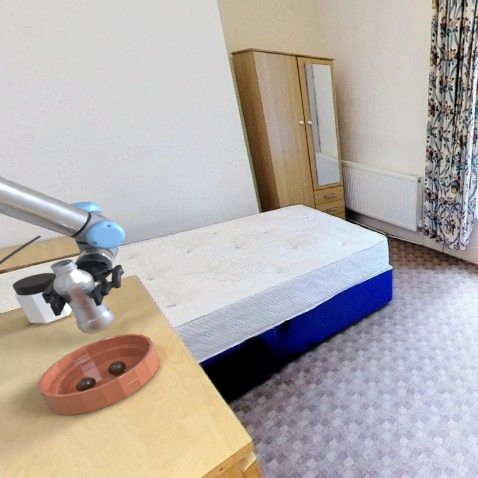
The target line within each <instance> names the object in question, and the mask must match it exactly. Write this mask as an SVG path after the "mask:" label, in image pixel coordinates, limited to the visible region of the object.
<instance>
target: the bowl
mask: <svg viewBox="0 0 478 478" xmlns="http://www.w3.org/2000/svg"><path fill="white" fill-rule="evenodd" d="M116 361H122V362H124V363H125V364H126V368H125V370H124V371H123V372H122V373H121V374H118V375H111V374H110V373H109V372H108V367H109V366H110V365H111V364H112V363H114V362H116ZM159 365H160V357H159V355H158V352H157V350H156V346H155V345H154V342H153V341H152V339H151V337H149V336H147V335H144V334H141V333H127V334H126V333H125V334H119V335H113V336H109V337H105V338H101V339H99V340H96V341H93V342H90V343H88V344H85V345H83V346H81V347H79V348H77V349H75V350H73V351H71V352H70V353H68V354H66V355H65V356H63V357H61V358H60V359H59V360H57V361H55V362H54V363H53V364H52V365H51V366H50V367H48V369H46V370H45V372H44V373H43V374H42V375H41V376H40V379H39V381H38V383H37V386H38V391H39V393H40V395H41V396H42V398H43V400H44V401H45V403H46V404H47V406H48V408H49V410H51V411H53V413H56V414H57V415H64V416H76V415H82V414H88V413H92V412H95V411H98V410H100V409H103V408H106V407H109V406H111V405H113V404H115V403H117V402H119V401H121V400H123V399H125V398H127V397H128V396H130V395H132V394H133V393H135V392H136V391H137V390H139V389H141V388H142V387H143V386H145V384H146V383H147V382H148V381H150V379H152V377H154V375H155V373H156V371H158V368H159ZM86 377H92V378H94V379H95V380H96V385H95V387H94V388H92V389H89V390H85V391H82V392H79V391H78V390H77V389H76V385H77V383H78V382H79V381H80V380H81V379H83V378H86Z"/></svg>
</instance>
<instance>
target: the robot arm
mask: <svg viewBox="0 0 478 478" xmlns="http://www.w3.org/2000/svg"><path fill="white" fill-rule="evenodd" d="M0 214H1V215H4V216H6V217H9V218H13V219H15V220H18V221H21V222H24V223H26V224H27V223H28V224H31V225H33V226H37V227H39V228H43V229H46V230H48V231H52V232H55V233H58V234H61V235H64V236H67V237H70V238H72V239H74V240H75V243H76V245H77V247H78V250H79V252H80V253H79V255H78V257H77V258H76V260H75V261H74V263H75V264H76V265H77V269H80V270H83V271H85V272H88V273H89V274H90V275H92V277H93V280H94V283H97V284H96V285H95V287H96V288H95V291H94V294H93V296H92V297H93V299H94V302H95V304H96V306H100V305H101V304H102V301H103V302H104V297H105V296H109V294H110V292H111V291H112V289H120V288H121V287H122V276H123V275H124V274H125V270H124V269H123V266H122V264H117V265H115V266H114V262H115V259H116V257H117V255H118V253H119V246H120V245H122V244H123V242H124V240H125V239H126V233H125V230H124V229H123V228H122V227H121V226H120V224H118V223H117V222H114V221H112V220H110V219H108V218H107V217H106V216H104V215H103V213H102V210H101V208H100V207H99V204H98V203H97V202H94V201H79V202H73V203H67V202H65V201H62V200H60V199H57V198H55V197H52V196H50V195H48V194H45V193H42V192H40V191H38V190H35V189H32V188H30V187H28V186H25V185H22V184H21V183H18V182H15V181H13V180H11V179H8V178H5V177H3V176H1V175H0ZM40 238H42V236H41V235H38V236H36V237H33V238H32V239H31V240H29V241H28V242H26V243H25V244H23V245H21V246H20V247H18V248H16V249H15V250H14V251H12V252H11V253H9V254H7V255H6V256H4V257H3V259H1V260H0V265H2V264H3V263H4V262H6V261H7V260H9V259H10V258H11V257H13V256H14V255H16V254H17V253H18V252H20V251H22V250H23V249H25V248H26V247H28V246H29V245H31V244H33V243H34V242H36V241H37V240H39V239H40ZM113 266H114V267H113ZM110 275H111V281H109V280H108V279H107V278H109V276H110ZM55 278H56V277H54V278H52V282H51V284H50V285H49V286H48V287H47V288H46V290H45V291H44V292H43V293H42V297H43V298H44V300H45V302H46V303H47V304H48V303H50V305H51V306H50V307H51V309H52V311H53V313H54V314H55V316H59V315H61V312H62V310H63V308H64V306H65V304H66V301H65V300H64V299H63V298H62V297H61V296H60V295H59V294H58V293H57V292H56V290H55V289H54V280H55Z"/></svg>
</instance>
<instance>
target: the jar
mask: <svg viewBox="0 0 478 478" xmlns="http://www.w3.org/2000/svg"><path fill="white" fill-rule="evenodd" d="M56 276H57V275H56V274H54V273H53V272H43V273H37V274H33V275H29V276H25V277H23V278H21V279H18V280H16V281H15V282H14V283H13V284H12V288H13V290H14V291H15V293H16V294H15V295H14V297H15V299H16V300H17V302H18V304H19V306H20V307H21V309H22V311H23V312H24V314H25V316H26V318H27V320H28V321H29V323H31V324H50V323H51V322H55V321H58V320H60V319H63V318H65V317H68V316H69V315H70V314H71V313H72V309H71V308H70V307H69V305H68V304H67V303H66V304H65V306H64V308H63V310H62V312H61V315H59V316H55V314H54V313H53V311H52V309H51V307H50V306H51V305H50V303H48V304H47V303H46V302H45V300H44V298H43V297H42V293H43V292H44V291H45V290H46V288H47V287H48V286H49V285H50V284H51V282H52V278H54V277H56Z"/></svg>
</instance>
